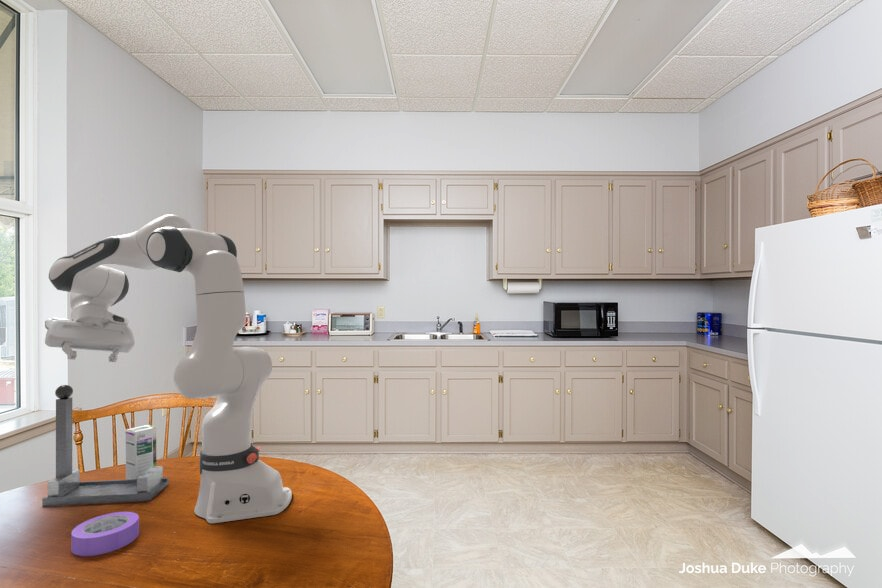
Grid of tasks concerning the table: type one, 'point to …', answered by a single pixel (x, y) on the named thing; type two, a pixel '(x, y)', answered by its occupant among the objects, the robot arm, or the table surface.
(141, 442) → the syrup box
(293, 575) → the table surface
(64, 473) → the ball-topped square post
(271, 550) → the table surface
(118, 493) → the tray
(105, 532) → the masking tape
